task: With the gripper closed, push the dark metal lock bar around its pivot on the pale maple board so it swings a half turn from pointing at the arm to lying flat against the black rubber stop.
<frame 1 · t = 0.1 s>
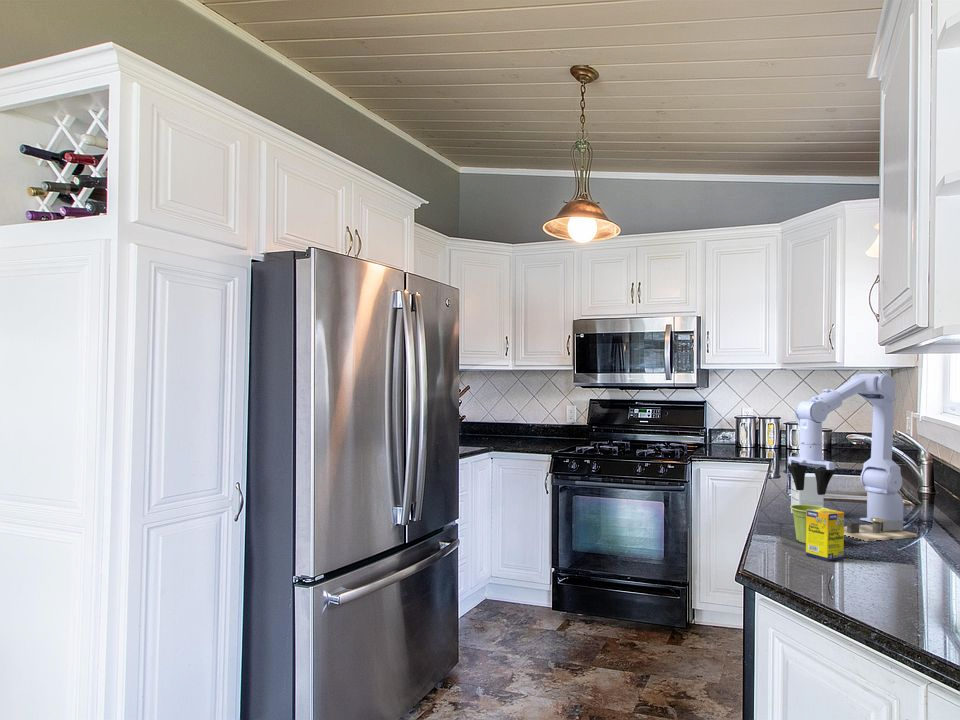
hand: (810, 492, 196), 10 cm above the worktop, tool pointing down, fingers open, 7 cm apart
plant pot: (809, 542, 179), on the worktop
supplement box 2: (806, 516, 214), on the worktop
supplement box: (824, 558, 164), on the worktop
lock bar: (886, 524, 190), point 3 cm above the worktop, hinge at 180.0°
jamb board: (871, 534, 190), on the worktop
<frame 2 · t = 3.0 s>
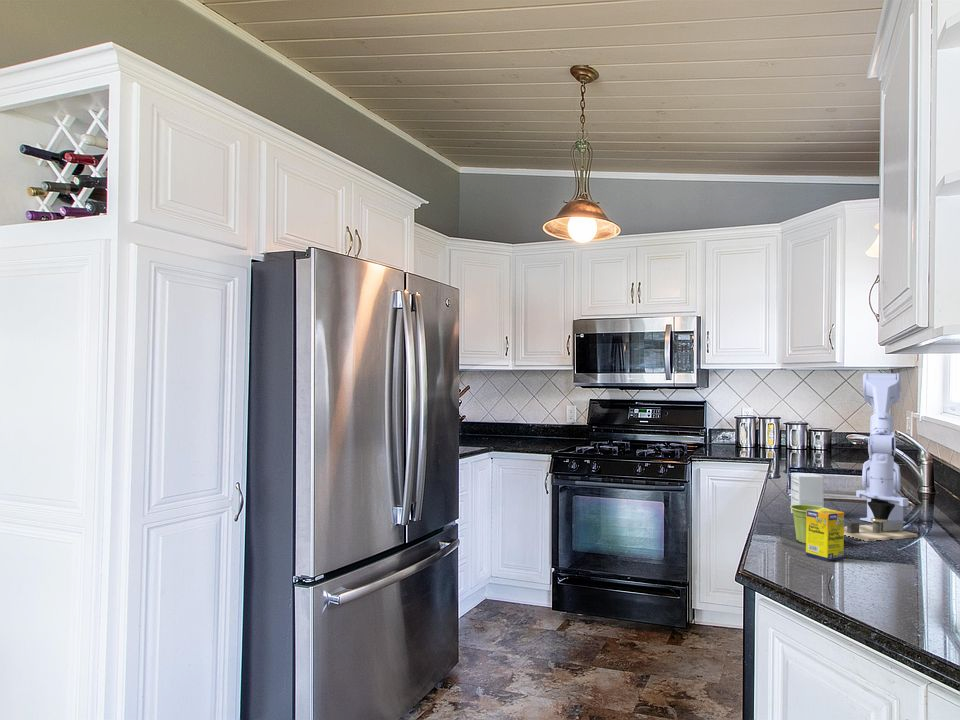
hand: (881, 528, 192), 1 cm above the worktop, tool pointing down, fingers closed, pressing on lock bar
lock bar: (886, 524, 190), point 3 cm above the worktop, hinge at 180.0°, touching gripper
everything else where it was.
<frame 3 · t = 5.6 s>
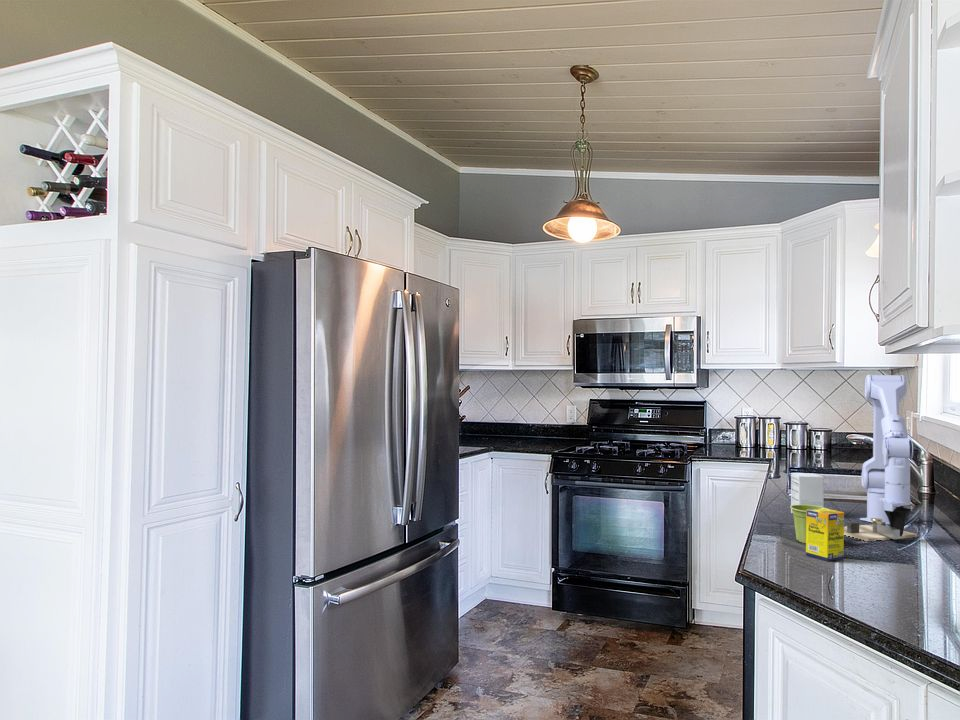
hand: (897, 535, 183), 1 cm above the worktop, tool pointing down, fingers closed, pressing on lock bar
lock bar: (884, 528, 185), point 3 cm above the worktop, hinge at 69.7°, touching gripper
everything else where it was.
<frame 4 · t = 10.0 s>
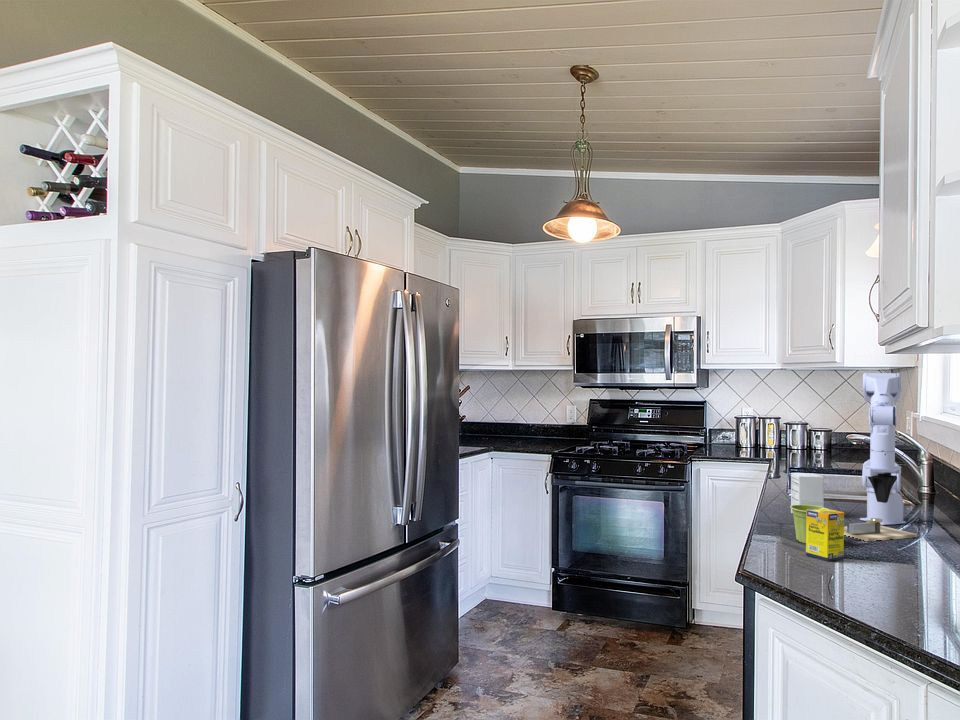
hand: (882, 502, 186), 9 cm above the worktop, tool pointing down, fingers closed
lock bar: (866, 525, 187), point 3 cm above the worktop, hinge at -0.1°
everything else where it was.
at the end: lock bar at +0° (first picture: +180°); the gripper is holding nothing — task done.
